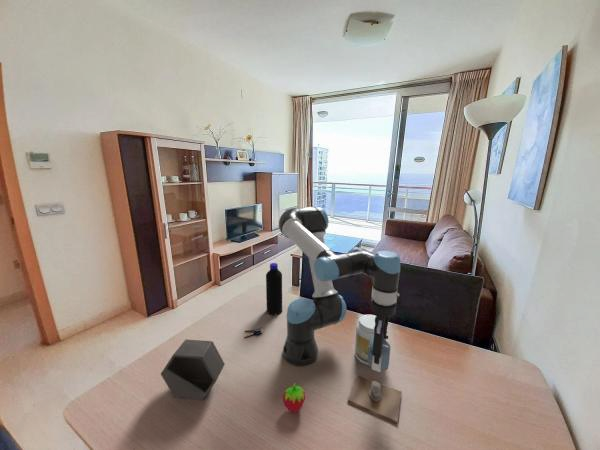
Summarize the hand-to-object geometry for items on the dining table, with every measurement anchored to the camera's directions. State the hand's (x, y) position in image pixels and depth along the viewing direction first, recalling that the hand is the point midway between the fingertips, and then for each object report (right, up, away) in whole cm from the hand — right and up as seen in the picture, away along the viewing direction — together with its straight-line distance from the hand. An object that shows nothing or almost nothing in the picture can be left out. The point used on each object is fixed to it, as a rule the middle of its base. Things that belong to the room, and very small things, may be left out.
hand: (378, 362), depth 82 cm
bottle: (-41, -3, +56) cm, 69 cm away
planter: (-64, -13, +6) cm, 66 cm away
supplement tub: (+3, -10, +22) cm, 25 cm away
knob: (0, 0, 0) cm, 0 cm away
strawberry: (-28, -15, -1) cm, 32 cm away
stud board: (0, -14, +3) cm, 15 cm away
